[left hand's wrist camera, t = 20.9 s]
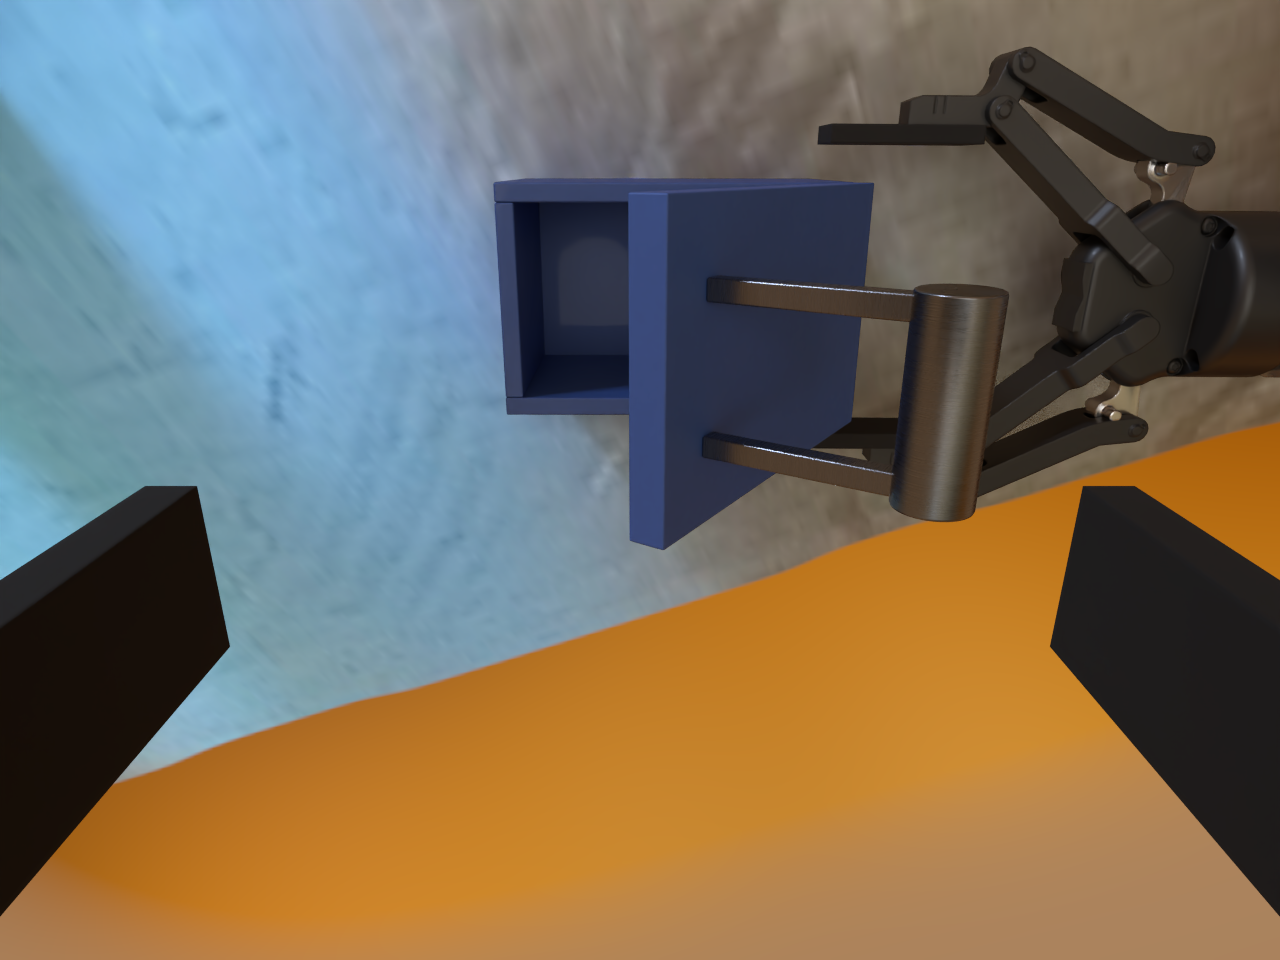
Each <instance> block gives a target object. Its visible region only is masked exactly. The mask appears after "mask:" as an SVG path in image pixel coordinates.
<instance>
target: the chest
mask: <svg viewBox="0 0 1280 960" xmlns="http://www.w3.org/2000/svg"><path fill="white" fill-rule="evenodd" d="M825 183H853V182H842V181H830V180H817V179H519V180H510V181H501V182H495V183H494V184H493V185H494V200H495V202H496V203H495V219H496V236H497V253H498V270H499V287H500V304H501V321H502V338H503V354H504V371H505V388H506V397H507V398H506V407H507V414H532V415H629V240H628V194H629V193H630V192H643V191H666V190H689V189H711V188H734V187H757V186H780V185H802V184H825Z"/></svg>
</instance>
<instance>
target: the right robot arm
mask: <svg viewBox="0 0 1280 960" xmlns="http://www.w3.org/2000/svg"><path fill="white" fill-rule="evenodd" d="M1020 99H1022V100H1024V101H1025V102H1027V103H1029V104H1030V105H1032V106H1033V107H1035V108H1037V109H1038V110H1040V111H1042V112H1043V113H1045V114H1047V115H1048V116H1050V117H1051V118H1053V119H1055V120H1056V121H1058V122H1060V123H1061V124H1063V125H1065V126H1066V127H1068V128H1070V129H1071V130H1073V131H1074V132H1076V133H1078V134H1079V135H1081V136H1083V137H1084V138H1086V139H1088V140H1089V141H1091V142H1092V143H1094V144H1096V145H1097V146H1099V147H1101V148H1102V149H1104V150H1106V151H1107V152H1109V153H1111V154H1112V155H1114V156H1116V157H1118V158H1121V159H1124V160H1127V161H1131V162H1136V163H1137V164H1136V165H1135V167H1134V172H1135V174H1136V175H1137V178H1138V179H1139V180H1140V181H1142V182H1144V183H1146V184H1148V186H1149V187H1150V189H1151V198H1150V200H1147V201H1144V202H1142V203H1140V204H1139V205H1137V206H1136V207H1134V208H1133V209H1131V210H1130V211H1128V212H1127V213H1124V212H1123V211H1122V210H1121V209H1120V208H1119V207H1118V206H1117V205H1115V204H1114V203H1112V202H1110V201H1108V200H1107V199H1106V198H1105V197H1104V196H1103V195H1102V194H1101V193H1100V192H1099V191H1098V189H1097V188H1096V187H1095V186H1094V185H1093V184H1092V183H1091V182H1090V181H1089V180H1088V178H1087V177H1086V176H1085V175H1084V174H1083V173H1082V172H1081V171H1080V170H1079V169H1078V167H1077V166H1076V165H1075V164H1074V163H1073V162H1072V161H1071V160H1070V159H1069V158H1068V157H1067V155H1066V154H1065V153H1064V152H1063V151H1062V150H1061V149H1060V148H1059V147H1058V146H1057V144H1056V143H1055V142H1054V141H1053V140H1052V139H1051V138H1050V137H1049V136H1048V135H1047V133H1046V132H1045V131H1044V130H1043V129H1042V128H1041V127H1040V126H1039V125H1038V124H1037V122H1036V121H1035V120H1034V119H1033V118H1032V117H1031V116H1030V115H1029V114H1028V113H1027V111H1026V110H1025V109H1024V108H1023V107H1022V106H1021V105H1020V104H1019V100H1020ZM985 140H986V141H987V142H988V143H989V144H990V146H991V147H992V148H993V149H994V150H995V151H996V152H997V153H998V154H999V155H1000V156H1001V157H1002V158H1003V159H1004V160H1005V162H1006V163H1007V164H1008V165H1009V166H1010V167H1011V168H1012V169H1013V170H1014V171H1015V172H1016V173H1017V174H1018V175H1019V176H1020V178H1021V179H1022V180H1023V181H1024V182H1025V183H1026V184H1027V185H1028V186H1029V187H1030V188H1031V189H1032V190H1033V191H1034V192H1035V194H1036V195H1037V196H1038V197H1039V198H1040V199H1041V200H1042V201H1043V202H1044V203H1045V204H1046V205H1047V206H1048V207H1049V208H1050V210H1051V211H1052V212H1053V213H1054V214H1055V215H1056V216H1057V217H1058V219H1059V223H1060V225H1061V226H1062V227H1063V228H1064V229H1065V230H1066V231H1067V232H1068V233H1069V235H1070V236H1071V237H1072V238H1073V239H1074V240H1075V241H1076V242H1077V243H1078V244H1079V245H1078V246H1077V247H1076V248H1075V249H1074V250H1073V252H1072V254H1071V255H1070V257H1069V258H1064V261H1063V267H1062V272H1061V281H1062V293H1061V296H1060V298H1059V300H1058V302H1057V305H1056V307H1055V310H1054V315H1053V321H1052V324H1053V325H1056V326H1057V332H1058V334H1059V336H1057V337H1056V338H1055V339H1053V340H1052V341H1050V342H1049V343H1048V344H1046V345H1045V346H1043V347H1042V348H1041V349H1039V350H1038V351H1037V352H1036V353H1035V356H1034V358H1033V360H1031V361H1030V362H1029V363H1027V364H1026V365H1025V366H1023V367H1022V368H1020V369H1019V370H1018V371H1016V372H1015V373H1014V374H1012V375H1011V376H1009V377H1008V378H1007V379H1005V380H1004V381H1002V382H1001V383H1000V384H998V385H997V386H996V387H995V388H994V394H993V400H992V407H991V413H990V419H989V426H988V432H987V438H986V445H985V451H984V457H983V464H982V470H981V476H980V483H979V489H978V495H977V497H979V496H982V495H984V494H986V493H989V492H991V491H993V490H996V489H998V488H1000V487H1003V486H1005V485H1008V484H1010V483H1012V482H1015V481H1017V480H1019V479H1022V478H1024V477H1026V476H1029V475H1031V474H1033V473H1036V472H1038V471H1041V470H1043V469H1045V468H1048V467H1050V466H1052V465H1055V464H1057V463H1059V462H1062V461H1064V460H1066V459H1069V458H1071V457H1074V456H1076V455H1078V454H1081V453H1083V452H1085V451H1088V450H1090V449H1092V448H1095V447H1097V446H1101V445H1111V444H1121V443H1131V442H1137V441H1140V440H1141V439H1143V438H1144V437H1145V435H1146V434H1147V432H1148V424H1147V422H1146V421H1145V420H1143V419H1141V418H1139V417H1138V406H1139V397H1140V388H1141V385H1143V384H1145V383H1147V382H1149V381H1151V380H1153V379H1156V378H1160V377H1167V376H1172V377H1253V376H1258V375H1261V376H1264V377H1280V212H1268V211H1196V210H1193V209H1191V208H1190V207H1188V206H1187V205H1186V204H1184V203H1183V202H1184V199H1185V196H1186V193H1187V190H1188V187H1189V184H1190V181H1191V178H1192V175H1193V172H1194V169H1195V166H1202V165H1204V164H1206V163H1208V162H1209V161H1210V160H1211V159H1212V157H1213V155H1214V153H1215V143H1214V141H1213V140H1212V139H1211V138H1209V137H1207V136H1201V135H1194V134H1186V133H1179V132H1172V131H1167V130H1166V129H1164V128H1162V127H1161V126H1159V125H1158V124H1156V123H1154V122H1153V121H1151V120H1150V119H1148V118H1146V117H1145V116H1143V115H1142V114H1140V113H1138V112H1137V111H1135V110H1134V109H1132V108H1130V107H1129V106H1127V105H1126V104H1124V103H1122V102H1121V101H1119V100H1118V99H1116V98H1114V97H1113V96H1111V95H1110V94H1108V93H1106V92H1105V91H1103V90H1101V89H1100V88H1098V87H1097V86H1095V85H1093V84H1092V83H1090V82H1089V81H1087V80H1085V79H1084V78H1082V77H1081V76H1079V75H1077V74H1076V73H1074V72H1073V71H1071V70H1069V69H1068V68H1066V67H1065V66H1063V65H1061V64H1060V63H1058V62H1057V61H1055V60H1053V59H1052V58H1050V57H1049V56H1047V55H1045V54H1044V53H1042V52H1041V51H1039V50H1037V49H1036V48H1033V47H1025V48H1022V49H1018V50H1015V51H1012V52H1009V53H1005V54H1002V55H1000V56H998V57H996V58H995V59H994V60H993V62H992V63H991V65H990V68H989V77H988V80H987V82H986V84H985V86H984V87H983V89H982V90H981V91H980V92H979V93H978V94H977V95H975V96H962V95H922V96H918V97H914V98H911V99H909V100H906V101H904V102H901V107H900V116H899V124H828V125H823V126H819V133H818V144H822V145H948V146H963V145H979V144H984V142H985ZM1076 355H1077V356H1076ZM1100 374H1101V375H1102V376H1104V377H1105V378H1106V379H1108V380H1110V385H1109V387H1108V389H1107V390H1106V391H1105V392H1104V393H1102V394H1101V395H1098V396H1095V397H1093V398H1089V399H1087V400H1086V402H1085V407H1084V408H1078V409H1074V410H1070V411H1067V412H1064V413H1061V414H1059V415H1056V416H1054V417H1052V418H1049V419H1047V420H1045V421H1042V422H1040V423H1038V424H1036V425H1033V426H1031V427H1029V428H1026V429H1024V430H1022V431H1019V432H1017V433H1015V434H1012V435H1010V436H1008V437H1006V438H1003V439H1001V440H999V441H997V440H998V439H1000V438H1001V437H1003V436H1004V435H1005V434H1007V433H1008V432H1010V431H1011V430H1013V429H1014V428H1015V427H1017V426H1018V425H1020V424H1021V423H1023V422H1024V421H1025V420H1027V419H1028V418H1030V417H1031V416H1032V415H1034V414H1035V413H1037V412H1038V411H1040V410H1041V409H1042V408H1044V407H1045V406H1047V405H1048V404H1050V403H1051V402H1052V401H1054V400H1055V399H1057V398H1058V397H1059V396H1061V395H1062V394H1064V393H1065V392H1067V391H1068V390H1071V389H1075V388H1080V387H1082V386H1084V385H1086V384H1087V383H1089V382H1090V381H1091V380H1093V379H1094V378H1096V377H1097V376H1099V375H1100ZM897 426H898V418H852V419H851V422H849V423H848V424H846V425H845V426H844V427H842V428H841V429H839V430H838V431H836V432H835V433H833V434H832V435H830V436H829V437H828V438H826V439H825V440H823V441H822V442H820V443H819V444H817V445H816V446H814V447H813V448H845V449H863V451H862V454H863V455H864V456H865V458H866V459H867V460H868V461H872V462H877V463H882V464H888V465H893V460H894V451H895V443H896V434H897Z"/></svg>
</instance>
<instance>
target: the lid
mask: <svg viewBox="0 0 1280 960" xmlns="http://www.w3.org/2000/svg"><path fill="white" fill-rule="evenodd" d="M873 190H874V183H825V184H802V185H780V186H757V187H734V188H711V189H689V190H666V191H643V192H630V193H629V194H628V240H629V478H630V541H633V542H636V543H640V544H643V545H647V546H650V547H654V548H657V549H661V550H665V549H666V548H668V547H669V546H670V545H672V544H673V543H675V542H676V541H678V540H679V539H681V538H682V537H684V536H685V535H686V534H688V533H689V532H691V531H692V530H694V529H695V528H697V527H698V526H700V525H701V524H702V523H704V522H705V521H707V520H708V519H710V518H711V517H713V516H714V515H716V514H717V513H718V512H720V511H721V510H723V509H724V508H726V507H727V506H729V505H730V504H732V503H733V502H734V501H736V500H737V499H739V498H740V497H742V496H743V495H745V494H746V493H748V492H749V491H750V490H752V489H753V488H755V487H756V486H758V485H759V484H761V483H762V482H764V481H765V480H766V479H768V478H769V477H771V476H772V475H774V474H775V473H779V474H784V475H789V476H794V477H798V478H803V479H808V480H813V481H818V482H822V483H827V484H832V485H837V486H842V487H846V488H851V489H856V490H861V491H865V492H870V493H875V494H880V495H885V496H889V502H890V505H891V506H892V507H893V508H894V509H895V510H896V511H898V512H900V513H902V514H904V515H907V516H909V517H913V518H916V519H921V520H926V521H934V522H955V521H961V520H965V519H967V518H969V517H971V516H972V515H973V514H974V512H975V508H976V502H977V495H978V489H979V483H980V476H981V470H982V464H983V457H984V451H985V445H986V438H987V432H988V426H989V419H990V413H991V407H992V400H993V394H994V388H995V381H996V375H997V369H998V362H999V356H1000V350H1001V343H1002V337H1003V331H1004V324H1005V318H1006V312H1007V305H1008V299H1009V293H1008V292H1007V291H1005V290H1003V289H999V288H995V287H988V286H980V285H968V284H928V285H921V286H918V287H915V289H914V290H902V289H889V288H876V287H864V284H865V273H866V263H867V252H868V242H869V231H870V221H871V211H872V200H873ZM861 317H863V318H874V319H884V320H894V321H904V322H910V323H909V331H908V340H907V349H906V357H905V366H904V374H903V383H902V391H901V400H900V409H899V417H898V426H897V434H896V443H895V451H894V460H893V465H888V464H882V463H877V462H872V461H867V460H861V459H856V458H851V457H845V456H840V455H835V454H830V453H824V452H819V451H814V450H810V449H812V448H813V447H814V446H816V445H817V444H819V443H820V442H822V441H823V440H825V439H826V438H828V437H829V436H830V435H832V434H833V433H835V432H836V431H838V430H839V429H841V428H842V427H844V426H845V425H846V424H848V423H849V422H851V419H852V409H853V398H854V388H855V378H856V367H857V357H858V346H859V336H860V325H861Z"/></svg>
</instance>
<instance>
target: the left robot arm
mask: <svg viewBox="0 0 1280 960" xmlns="http://www.w3.org/2000/svg"><path fill="white" fill-rule="evenodd" d="M229 647H230V644H229V639H228V634H227V630H226V625H225V620H224V615H223V610H222V605H221V601H220V596H219V591H218V586H217V581H216V576H215V571H214V567H213V562H212V557H211V552H210V547H209V542H208V537H207V533H206V528H205V523H204V518H203V513H202V508H201V503H200V499H199V494H198V489H197V486H145V487H143V488H142V489H140V490H139V491H137V492H135V493H134V494H132V495H131V496H129V497H128V498H126V499H125V500H123V501H122V502H120V503H119V504H117V505H115V506H114V507H112V508H111V509H109V510H108V511H106V512H105V513H103V514H102V515H100V516H98V517H97V518H95V519H94V520H92V521H91V522H89V523H88V524H86V525H85V526H83V527H82V528H80V529H78V530H77V531H75V532H74V533H72V534H71V535H69V536H68V537H66V538H65V539H63V540H61V541H60V542H58V543H57V544H55V545H54V546H52V547H51V548H49V549H48V550H46V551H45V552H43V553H41V554H40V555H38V556H37V557H35V558H34V559H32V560H31V561H29V562H28V563H26V564H24V565H23V566H21V567H20V568H18V569H17V570H15V571H14V572H12V573H11V574H9V575H8V576H6V577H4V578H3V579H1V580H0V916H1V915H2V914H3V913H4V911H5V910H6V909H7V908H8V907H9V906H10V904H11V903H12V902H13V901H14V900H15V898H16V897H17V896H18V895H19V894H20V893H21V891H22V890H23V889H24V888H25V887H26V886H27V884H28V883H29V882H30V881H31V880H32V878H33V877H34V876H35V875H36V874H37V873H38V871H39V870H40V869H41V868H42V867H43V866H44V864H45V863H46V862H47V861H48V860H49V859H50V857H51V856H52V855H53V854H54V853H55V852H56V850H57V849H58V848H59V847H60V846H61V844H62V843H63V842H64V841H65V840H66V839H67V837H68V836H69V835H70V834H71V833H72V832H73V830H74V829H75V828H76V827H77V826H78V824H79V823H80V822H81V821H82V820H83V819H84V817H85V816H86V815H87V814H88V813H89V812H90V810H91V809H92V808H93V807H94V806H95V805H96V803H97V802H98V801H99V800H100V799H101V797H102V796H103V795H104V794H105V793H106V792H107V790H108V789H109V788H110V787H111V786H112V785H113V783H114V782H115V781H116V780H117V779H118V778H119V776H120V775H121V774H122V773H123V772H124V770H125V769H126V768H127V767H128V766H129V765H130V763H131V762H132V761H133V760H134V759H135V758H136V756H137V755H138V754H139V753H140V752H141V751H142V749H143V748H144V747H145V746H146V745H147V743H148V742H149V741H150V740H151V739H152V738H153V736H154V735H155V734H156V733H157V732H158V731H159V729H160V728H161V727H162V726H163V725H164V724H165V722H166V721H167V720H168V719H169V718H170V716H171V715H172V714H173V713H174V712H175V711H176V709H177V708H178V707H179V706H180V705H181V704H182V702H183V701H184V700H185V699H186V698H187V697H188V695H189V694H190V693H191V692H192V691H193V689H194V688H195V687H196V686H197V685H198V684H199V682H200V681H201V680H202V679H203V678H204V677H205V675H206V674H207V673H208V672H209V671H210V669H211V668H212V667H213V666H214V665H215V664H216V662H217V661H218V660H219V659H220V658H221V657H222V655H223V654H224V653H225V652H226V651H227V650H228V648H229ZM1050 647H1051V648H1052V649H1053V651H1054V652H1055V653H1056V654H1057V655H1058V657H1059V658H1060V659H1061V660H1062V661H1063V662H1064V664H1065V665H1066V666H1067V667H1068V668H1069V669H1070V671H1071V672H1072V673H1073V674H1074V675H1075V676H1076V678H1077V679H1078V680H1079V681H1080V682H1081V684H1082V685H1083V686H1084V687H1085V688H1086V689H1087V691H1088V692H1089V693H1090V694H1091V695H1092V696H1093V698H1094V699H1095V700H1096V701H1097V702H1098V704H1099V705H1100V706H1101V707H1102V708H1103V709H1104V711H1105V712H1106V713H1107V714H1108V715H1109V716H1110V718H1111V719H1112V720H1113V721H1114V722H1115V724H1116V725H1117V726H1118V727H1119V728H1120V729H1121V731H1122V732H1123V733H1124V734H1125V735H1126V736H1127V738H1128V739H1129V740H1130V741H1131V742H1132V743H1133V745H1134V746H1135V747H1136V748H1137V749H1138V750H1139V752H1140V753H1141V754H1142V755H1143V756H1144V758H1145V759H1146V760H1147V761H1148V762H1149V763H1150V765H1151V766H1152V767H1153V768H1154V769H1155V770H1156V772H1157V773H1158V774H1159V775H1160V776H1161V777H1162V779H1163V780H1164V781H1165V782H1166V783H1167V785H1168V786H1169V787H1170V788H1171V789H1172V790H1173V792H1174V793H1175V794H1176V795H1177V796H1178V797H1179V799H1180V800H1181V801H1182V802H1183V803H1184V805H1185V806H1186V807H1187V808H1188V809H1189V810H1190V812H1191V813H1192V814H1193V815H1194V816H1195V817H1196V819H1197V820H1198V821H1199V822H1200V823H1201V824H1202V826H1203V827H1204V828H1205V829H1206V830H1207V832H1208V833H1209V834H1210V835H1211V836H1212V837H1213V839H1214V840H1215V841H1216V842H1217V843H1218V844H1219V846H1220V847H1221V848H1222V849H1223V850H1224V851H1225V853H1226V854H1227V855H1228V856H1229V857H1230V859H1231V860H1232V861H1233V862H1234V863H1235V864H1236V866H1237V867H1238V868H1239V869H1240V870H1241V871H1242V873H1243V874H1244V875H1245V876H1246V877H1247V878H1248V880H1249V881H1250V882H1251V883H1252V884H1253V886H1254V887H1255V888H1256V889H1257V890H1258V891H1259V893H1260V894H1261V895H1262V896H1263V897H1264V898H1265V900H1266V901H1267V902H1268V903H1269V904H1270V905H1271V907H1272V908H1273V909H1274V910H1275V911H1276V913H1277V914H1278V915H1279V916H1280V580H1279V579H1277V578H1275V577H1274V576H1272V575H1271V574H1269V573H1268V572H1266V571H1265V570H1263V569H1262V568H1260V567H1259V566H1257V565H1255V564H1254V563H1252V562H1251V561H1249V560H1248V559H1246V558H1245V557H1243V556H1242V555H1240V554H1239V553H1237V552H1235V551H1234V550H1232V549H1231V548H1229V547H1228V546H1226V545H1225V544H1223V543H1222V542H1220V541H1219V540H1217V539H1215V538H1214V537H1212V536H1211V535H1209V534H1208V533H1206V532H1205V531H1203V530H1202V529H1200V528H1198V527H1197V526H1195V525H1194V524H1192V523H1191V522H1189V521H1188V520H1186V519H1185V518H1183V517H1181V516H1180V515H1178V514H1177V513H1175V512H1174V511H1172V510H1171V509H1169V508H1168V507H1166V506H1165V505H1163V504H1161V503H1160V502H1158V501H1157V500H1155V499H1154V498H1152V497H1151V496H1149V495H1148V494H1146V493H1145V492H1143V491H1141V490H1140V489H1138V488H1137V487H1135V486H1083V489H1082V494H1081V499H1080V503H1079V508H1078V513H1077V518H1076V523H1075V528H1074V533H1073V537H1072V542H1071V547H1070V552H1069V557H1068V562H1067V567H1066V572H1065V576H1064V581H1063V586H1062V591H1061V596H1060V601H1059V605H1058V610H1057V615H1056V620H1055V625H1054V630H1053V635H1052V639H1051V644H1050Z"/></svg>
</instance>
